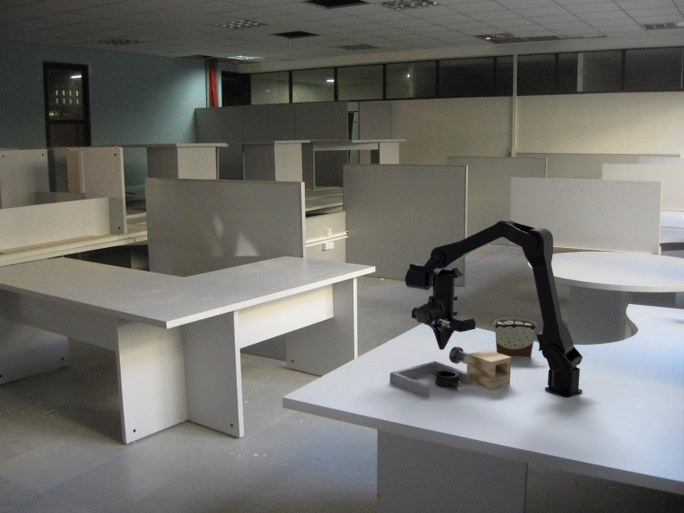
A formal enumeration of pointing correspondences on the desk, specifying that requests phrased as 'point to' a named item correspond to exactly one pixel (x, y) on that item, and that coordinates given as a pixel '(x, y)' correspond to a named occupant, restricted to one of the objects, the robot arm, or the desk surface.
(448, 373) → the black ring with tabs
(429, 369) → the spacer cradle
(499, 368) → the bearing block
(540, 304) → the robot arm
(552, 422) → the desk surface
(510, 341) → the food container
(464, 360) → the shaft
